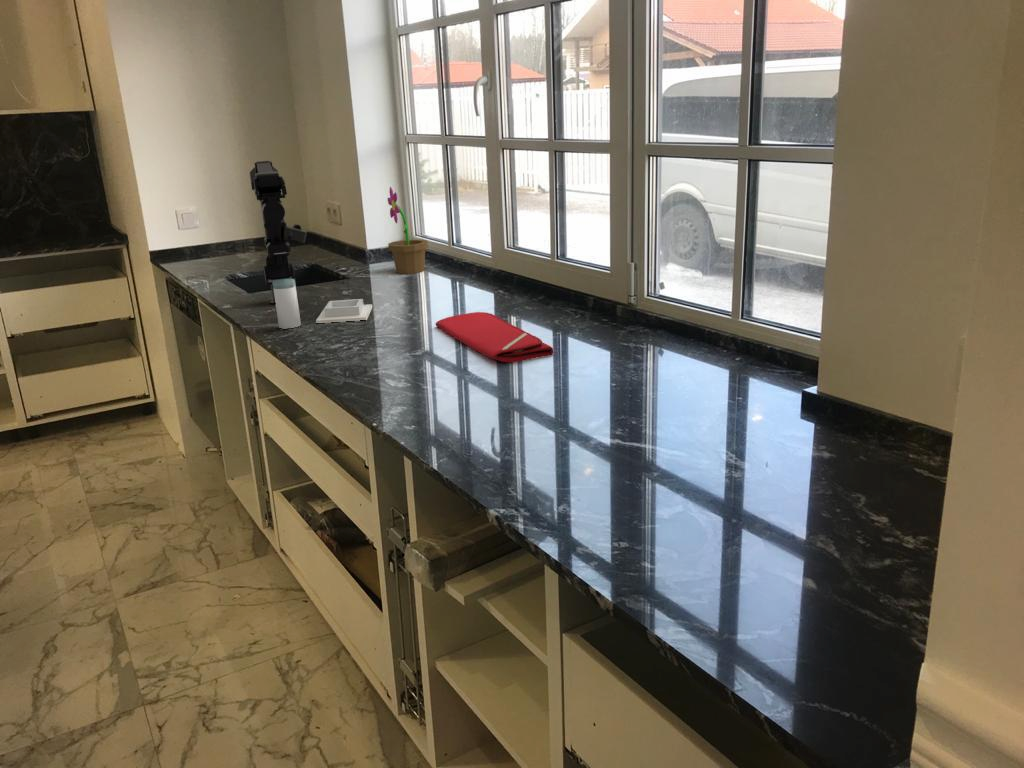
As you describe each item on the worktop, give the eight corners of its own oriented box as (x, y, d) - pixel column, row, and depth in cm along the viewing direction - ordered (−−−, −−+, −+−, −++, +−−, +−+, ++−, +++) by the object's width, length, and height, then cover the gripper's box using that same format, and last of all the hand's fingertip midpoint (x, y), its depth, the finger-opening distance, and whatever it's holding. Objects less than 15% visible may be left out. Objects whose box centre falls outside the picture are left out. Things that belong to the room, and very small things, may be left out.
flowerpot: (385, 270, 309) (376, 186, 299) (422, 265, 314) (415, 183, 304) (397, 277, 296) (388, 189, 287) (436, 271, 302) (428, 185, 292)
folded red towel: (489, 320, 234) (488, 306, 233) (555, 356, 198) (555, 341, 197) (435, 328, 228) (434, 315, 227) (493, 367, 192) (492, 352, 191)
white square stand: (325, 310, 253) (323, 299, 252) (372, 307, 254) (371, 296, 253) (316, 324, 238) (314, 311, 237) (366, 320, 239) (364, 308, 237)
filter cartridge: (288, 323, 241) (282, 278, 237) (305, 324, 238) (299, 279, 234) (274, 328, 236) (267, 282, 231) (291, 330, 233) (284, 283, 229)
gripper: (305, 219, 232) (312, 276, 237) (300, 212, 249) (307, 265, 254) (263, 223, 229) (272, 280, 234) (261, 216, 246) (268, 269, 251)
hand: (281, 273), depth 243 cm, fingers open, 9 cm apart
